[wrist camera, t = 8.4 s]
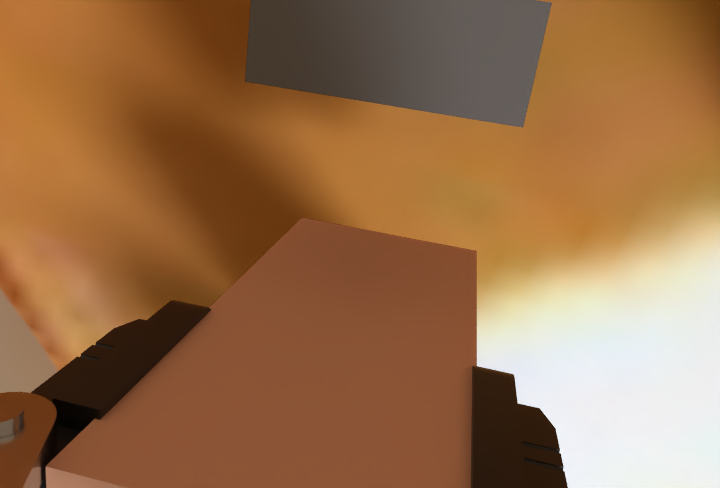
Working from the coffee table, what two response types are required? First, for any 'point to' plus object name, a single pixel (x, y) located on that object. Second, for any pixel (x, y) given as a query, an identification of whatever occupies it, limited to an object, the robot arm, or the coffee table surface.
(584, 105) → the coffee table surface
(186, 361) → the domino
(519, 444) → the robot arm
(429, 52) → the domino
